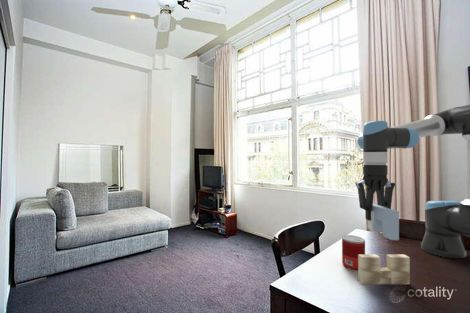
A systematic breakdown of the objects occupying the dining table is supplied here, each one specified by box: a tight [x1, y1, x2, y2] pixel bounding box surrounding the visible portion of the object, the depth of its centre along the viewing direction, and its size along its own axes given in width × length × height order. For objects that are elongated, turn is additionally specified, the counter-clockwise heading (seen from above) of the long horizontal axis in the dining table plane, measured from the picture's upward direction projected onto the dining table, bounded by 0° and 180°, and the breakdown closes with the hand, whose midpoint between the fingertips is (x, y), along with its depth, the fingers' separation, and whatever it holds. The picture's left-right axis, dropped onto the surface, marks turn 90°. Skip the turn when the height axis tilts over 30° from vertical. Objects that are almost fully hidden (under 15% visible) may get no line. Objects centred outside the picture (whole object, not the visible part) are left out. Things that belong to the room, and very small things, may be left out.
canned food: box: [341, 234, 366, 272], centre depth 89 cm, size 8×8×11 cm
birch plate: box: [357, 253, 411, 285], centre depth 78 cm, size 16×2×9 cm, turn 90°
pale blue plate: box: [372, 203, 400, 241], centre depth 78 cm, size 12×2×9 cm, turn 0°
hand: (375, 229), depth 82 cm, fingers closed on pale blue plate, 2 cm apart
